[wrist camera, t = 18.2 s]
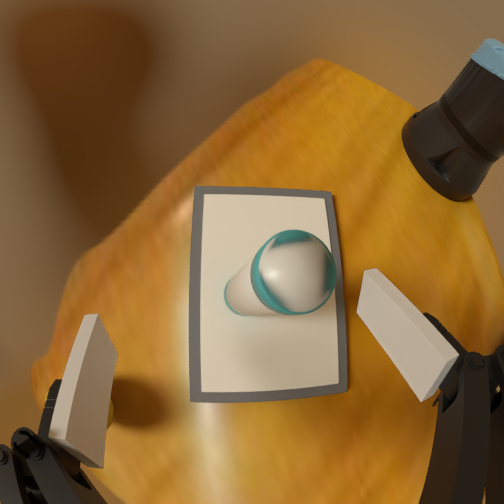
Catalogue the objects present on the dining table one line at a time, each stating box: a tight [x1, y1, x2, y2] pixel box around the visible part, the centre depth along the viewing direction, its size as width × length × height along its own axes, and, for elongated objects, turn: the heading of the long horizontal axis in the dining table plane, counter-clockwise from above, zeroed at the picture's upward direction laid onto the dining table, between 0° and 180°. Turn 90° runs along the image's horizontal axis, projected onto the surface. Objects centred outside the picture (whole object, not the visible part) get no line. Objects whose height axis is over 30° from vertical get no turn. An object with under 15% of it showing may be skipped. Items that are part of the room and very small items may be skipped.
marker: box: [224, 229, 336, 316], centre depth 18 cm, size 4×4×12 cm
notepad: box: [189, 186, 348, 403], centre depth 25 cm, size 14×20×1 cm
